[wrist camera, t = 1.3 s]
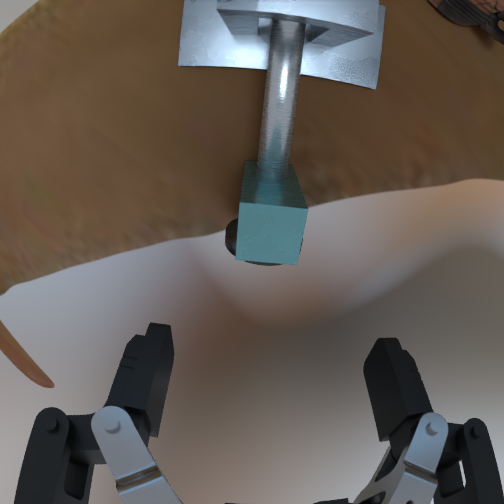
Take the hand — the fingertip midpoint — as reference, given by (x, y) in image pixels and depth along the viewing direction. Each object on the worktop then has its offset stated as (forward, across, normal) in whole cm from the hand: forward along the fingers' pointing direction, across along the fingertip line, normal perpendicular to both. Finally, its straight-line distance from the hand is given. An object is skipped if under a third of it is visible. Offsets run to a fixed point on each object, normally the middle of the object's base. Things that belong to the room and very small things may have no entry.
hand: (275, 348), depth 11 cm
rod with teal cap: (+18, 0, -7) cm, 19 cm away
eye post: (+18, 0, -14) cm, 23 cm away
